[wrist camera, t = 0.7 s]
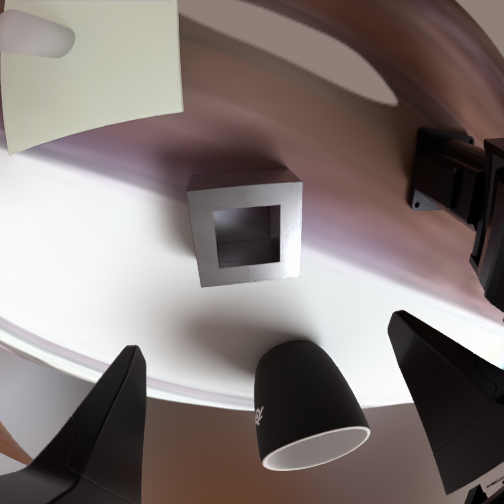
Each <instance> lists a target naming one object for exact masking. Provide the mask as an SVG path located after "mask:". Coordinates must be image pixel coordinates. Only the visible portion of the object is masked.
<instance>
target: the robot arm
mask: <svg viewBox="0 0 504 504" xmlns="http://www.w3.org/2000/svg"><path fill="white" fill-rule="evenodd" d="M424 132H425V136H424ZM484 148H485V149H482V148H480V147H477V146H474V139H473V137H471V136H468V135H463V134H459V133H454V132H449V131H444V130H438V129H433V128H427V127H421V128H420V129H419V131H418V139H417V150H416V160H415V169H414V177H413V184H412V191H411V197H410V208H412V209H413V210H414V211H424V210H444V211H445V212H447V213H448V214H450V215H451V216H453V217H454V218H456V219H457V220H458V221H460V222H461V223H463V224H464V225H466V226H467V227H468V228H470V229H471V230H472V231H474V232H475V233H476V237H475V242H474V247H473V251H472V253H471V255H470V260H469V262H470V264H471V265H472V267H473V269H474V270H475V272H476V274H477V276H478V278H479V281H480V283H481V285H482V287H483V289H484V290H485V292H484V296H485V298H486V299H487V300H488V301H489V302H490V303H491V304H492V306H494V307H495V308H496V309H498V310H499V311H500V312H502V313H504V138H495V139H484ZM416 202H417V203H416ZM415 203H416V205H415ZM503 321H504V318H503ZM388 335H389V338H390V341H391V344H392V347H393V350H394V353H395V356H396V359H397V362H398V365H399V368H400V370H401V373H402V375H403V377H404V379H405V382H406V384H407V386H408V389H409V391H410V394H411V396H412V399H413V401H414V403H415V406H416V408H417V411H418V413H419V416H420V419H421V421H422V424H423V427H424V429H425V432H426V435H427V437H428V440H429V443H430V446H431V449H432V451H433V453H434V454H433V455H434V457H435V461H436V464H437V467H438V470H439V473H440V476H441V479H442V482H443V486H444V489H445V493H446V495H448V494H450V493H452V492H454V491H456V490H458V489H460V488H462V487H464V486H465V485H467V484H469V483H471V482H473V481H474V480H476V479H478V480H479V484H478V485H476V486H475V487H473V488H472V489H470V490H469V493H468V495H467V498H466V501H465V503H464V504H504V370H502V369H500V368H498V367H496V366H495V365H493V364H491V363H489V362H488V361H486V360H484V359H483V358H481V357H479V356H478V355H476V354H474V353H473V352H471V351H470V350H468V349H467V348H465V347H463V346H462V345H460V344H459V343H457V342H455V341H454V340H452V339H451V338H449V337H447V336H446V335H444V334H443V333H441V332H439V331H438V330H436V329H434V328H433V327H431V326H429V325H428V324H426V323H424V322H423V321H421V320H420V319H418V318H416V317H415V316H413V315H411V314H410V313H408V312H406V311H404V310H399V311H395V312H394V313H393V314H392V316H391V319H390V322H389V325H388ZM145 416H146V361H145V359H144V356H143V354H142V352H141V350H140V348H139V346H137V345H127V346H126V347H125V348H124V349H123V350H122V351H121V353H120V354H119V355H118V356H117V358H116V359H115V360H114V361H113V363H112V364H111V365H110V366H109V368H108V369H107V370H106V371H105V373H104V374H103V375H102V377H101V378H100V379H99V380H98V382H97V383H96V384H95V385H94V387H93V388H92V389H91V391H90V392H89V393H88V394H87V396H86V397H85V398H84V400H83V401H82V402H81V404H80V405H79V406H78V407H77V409H76V410H75V412H74V413H73V414H72V416H71V417H70V418H69V419H68V421H67V422H66V423H65V425H64V426H63V427H62V428H61V430H60V431H59V432H58V434H57V435H56V436H55V437H54V438H53V439H52V440H51V441H50V443H49V444H48V445H47V446H46V447H45V448H44V449H43V450H42V451H41V452H40V453H39V455H37V457H36V458H35V459H34V460H33V461H32V462H31V463H30V464H29V465H28V466H26V467H25V468H23V469H21V470H19V471H16V472H12V473H9V474H5V475H1V476H0V504H141V481H142V457H143V440H144V428H145Z"/></svg>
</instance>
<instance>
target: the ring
mask: <svg viewBox="0 0 504 504" xmlns="http://www.w3.org/2000/svg"><path fill="white" fill-rule="evenodd" d="M302 187H303V182H302V181H301V180H300V179H299V178H298V177H297V176H296V175H295V174H294V173H293V172H292V171H291V170H289V169H288V168H283V169H266V170H251V171H239V172H227V173H217V174H207V175H198V176H190V179H189V184H188V188H187V197H188V205H189V212H190V219H191V226H192V233H193V240H194V246H195V253H196V259H197V265H198V271H199V277H200V283H201V288H202V287H211V286H221V285H230V284H239V283H247V282H256V281H264V280H273V279H281V278H289V277H296V276H299V265H300V245H301V221H302ZM258 206H270V239H261V240H252V241H242V242H233V243H223V244H217V240H216V231H215V221H214V212H213V211H217V210H226V209H237V208H247V207H258Z"/></svg>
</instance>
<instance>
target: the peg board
mask: <svg viewBox="0 0 504 504" xmlns="http://www.w3.org/2000/svg"><path fill="white" fill-rule="evenodd" d="M0 53H1V95H2V108H3V118H4V126H5V133H6V140H7V146H8V152H9V155H12V154H14V153H17V152H20V151H22V150H25V149H28V148H31V147H33V146H36V145H39V144H42V143H45V142H48V141H51V140H55V139H58V138H61V137H65V136H68V135H71V134H75V133H79V132H82V131H86V130H90V129H94V128H98V127H102V126H106V125H111V124H115V123H120V122H125V121H130V120H135V119H140V118H146V117H152V116H158V115H164V114H171V113H178V112H183V111H184V109H183V96H182V81H181V64H180V44H179V13H178V0H5V7H4V12H3V13H1V14H0Z"/></svg>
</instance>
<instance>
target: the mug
mask: <svg viewBox="0 0 504 504" xmlns="http://www.w3.org/2000/svg"><path fill="white" fill-rule="evenodd" d="M254 407H255V421H256V432H257V440H258V447H259V453H260V458H261V462H262V464H263V466H264V467H266V468H268V469H271V470H281V471H284V470H296V469H303V468H308V467H312V466H317V465H320V464H323V463H326V462H329V461H332V460H334V459H337V458H339V457H341V456H343V455H345V454H347V453H349V452H351V451H353V450H354V449H356V448H357V447H359V446H360V445H361V444H362V443H364V442H365V441H366V440H367V438H368V437H369V435H370V428H369V425H368V423H367V420H366V418H365V416H364V414H363V411H362V409H361V407H360V405H359V403H358V401H357V399H356V397H355V396H354V394H353V392H352V390H351V388H350V387H349V385H348V383H347V381H346V380H345V378H344V376H343V375H342V373H341V372H340V370H339V369H338V367H337V366H336V364H335V363H334V362H333V360H332V359H331V358H330V356H329V355H328V354H327V353H326V352H325V351H324V350H323V349H322V348H320V347H319V346H317V345H316V344H314V343H311V342H307V341H293V342H288V343H284V344H281V345H279V346H277V347H275V348H273V349H271V350H270V351H269V352H267V353H266V354H265V355H264V356H263V357H262V359H261V360H260V362H259V364H258V367H257V370H256V374H255V384H254Z"/></svg>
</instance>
